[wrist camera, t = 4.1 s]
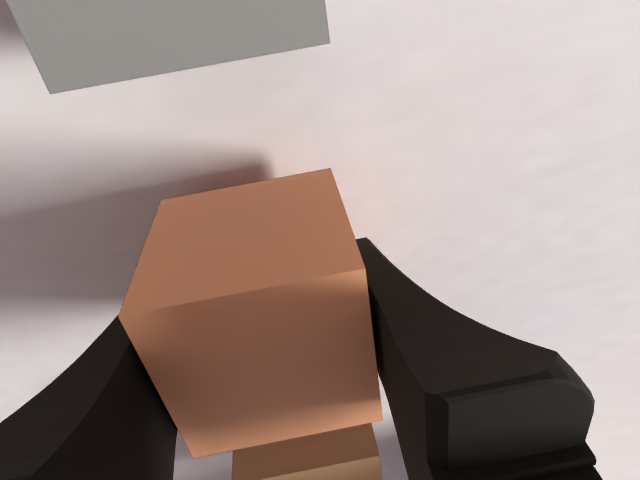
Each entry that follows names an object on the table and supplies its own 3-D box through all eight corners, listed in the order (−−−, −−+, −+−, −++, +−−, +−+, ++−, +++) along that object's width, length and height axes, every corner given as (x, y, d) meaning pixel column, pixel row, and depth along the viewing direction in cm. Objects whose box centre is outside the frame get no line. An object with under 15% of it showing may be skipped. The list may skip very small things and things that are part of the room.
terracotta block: (349, 297, 16) (383, 420, 12) (209, 324, 16) (193, 458, 12) (330, 168, 13) (365, 268, 9) (161, 199, 13) (117, 316, 9)
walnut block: (363, 418, 22) (388, 527, 18) (261, 438, 22) (263, 552, 18) (352, 346, 19) (379, 455, 15) (236, 369, 19) (231, 485, 15)
